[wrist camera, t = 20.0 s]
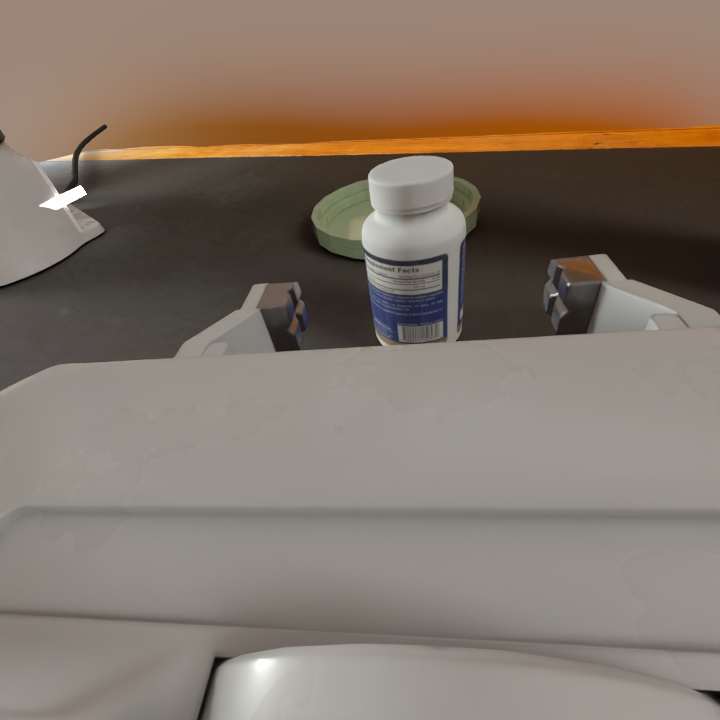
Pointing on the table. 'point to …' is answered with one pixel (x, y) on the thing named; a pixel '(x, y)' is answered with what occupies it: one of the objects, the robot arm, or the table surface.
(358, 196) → the dish
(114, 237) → the table surface
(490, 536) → the robot arm
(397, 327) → the pill bottle
